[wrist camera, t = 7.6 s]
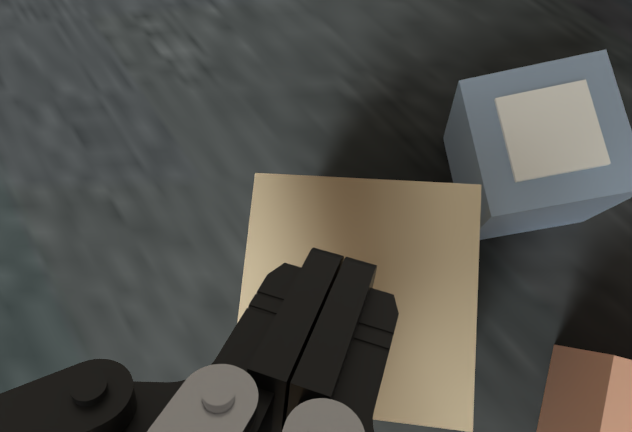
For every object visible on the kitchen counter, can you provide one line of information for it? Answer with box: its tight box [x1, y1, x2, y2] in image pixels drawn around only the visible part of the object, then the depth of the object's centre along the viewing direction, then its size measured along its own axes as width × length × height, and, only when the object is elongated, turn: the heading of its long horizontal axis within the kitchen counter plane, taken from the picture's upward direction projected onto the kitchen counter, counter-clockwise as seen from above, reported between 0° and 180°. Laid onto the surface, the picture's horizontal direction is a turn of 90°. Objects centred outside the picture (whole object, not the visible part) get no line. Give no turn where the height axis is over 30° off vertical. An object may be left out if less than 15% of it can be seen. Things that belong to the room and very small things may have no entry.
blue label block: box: [443, 49, 632, 240], centre depth 20 cm, size 5×5×6 cm
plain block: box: [237, 173, 481, 432], centre depth 19 cm, size 7×7×8 cm
